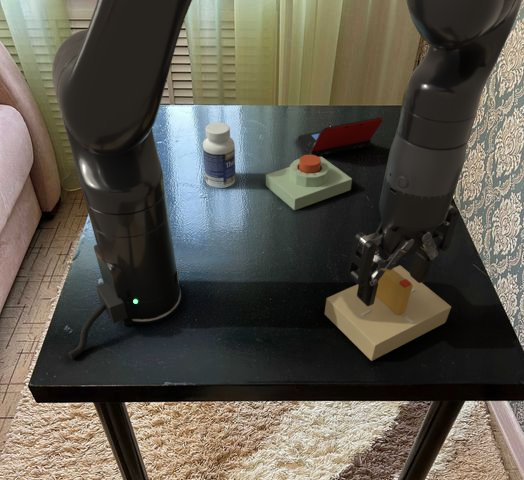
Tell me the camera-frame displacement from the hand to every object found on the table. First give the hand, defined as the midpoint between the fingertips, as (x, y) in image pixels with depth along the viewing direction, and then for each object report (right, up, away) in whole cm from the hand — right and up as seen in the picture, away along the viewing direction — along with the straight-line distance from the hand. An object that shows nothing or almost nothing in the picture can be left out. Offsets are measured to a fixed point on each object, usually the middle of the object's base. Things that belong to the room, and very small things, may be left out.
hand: (391, 290), depth 68 cm
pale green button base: (-8, +21, +26) cm, 34 cm away
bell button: (-8, +23, +23) cm, 34 cm away
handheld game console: (-2, +31, +36) cm, 48 cm away
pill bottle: (-24, +22, +27) cm, 43 cm away
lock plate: (0, -3, +5) cm, 6 cm away
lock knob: (0, -1, +2) cm, 3 cm away
